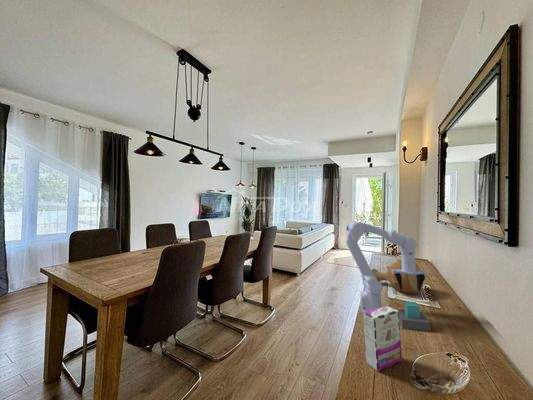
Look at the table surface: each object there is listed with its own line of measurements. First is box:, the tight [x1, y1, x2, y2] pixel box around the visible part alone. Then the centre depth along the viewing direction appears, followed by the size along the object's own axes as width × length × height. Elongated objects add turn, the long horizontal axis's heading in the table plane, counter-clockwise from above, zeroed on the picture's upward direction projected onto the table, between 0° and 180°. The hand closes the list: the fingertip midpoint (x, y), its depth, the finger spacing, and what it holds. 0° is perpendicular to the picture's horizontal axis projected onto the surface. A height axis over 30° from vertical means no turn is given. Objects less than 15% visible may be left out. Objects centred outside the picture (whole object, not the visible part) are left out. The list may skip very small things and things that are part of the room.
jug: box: [371, 260, 424, 295], centre depth 140 cm, size 20×19×30 cm
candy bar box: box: [362, 305, 403, 372], centre depth 75 cm, size 11×5×16 cm, turn 114°
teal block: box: [403, 300, 421, 319], centre depth 99 cm, size 4×4×5 cm
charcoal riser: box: [396, 309, 431, 332], centre depth 99 cm, size 10×10×4 cm
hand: (409, 289), depth 112 cm, fingers open, 7 cm apart
